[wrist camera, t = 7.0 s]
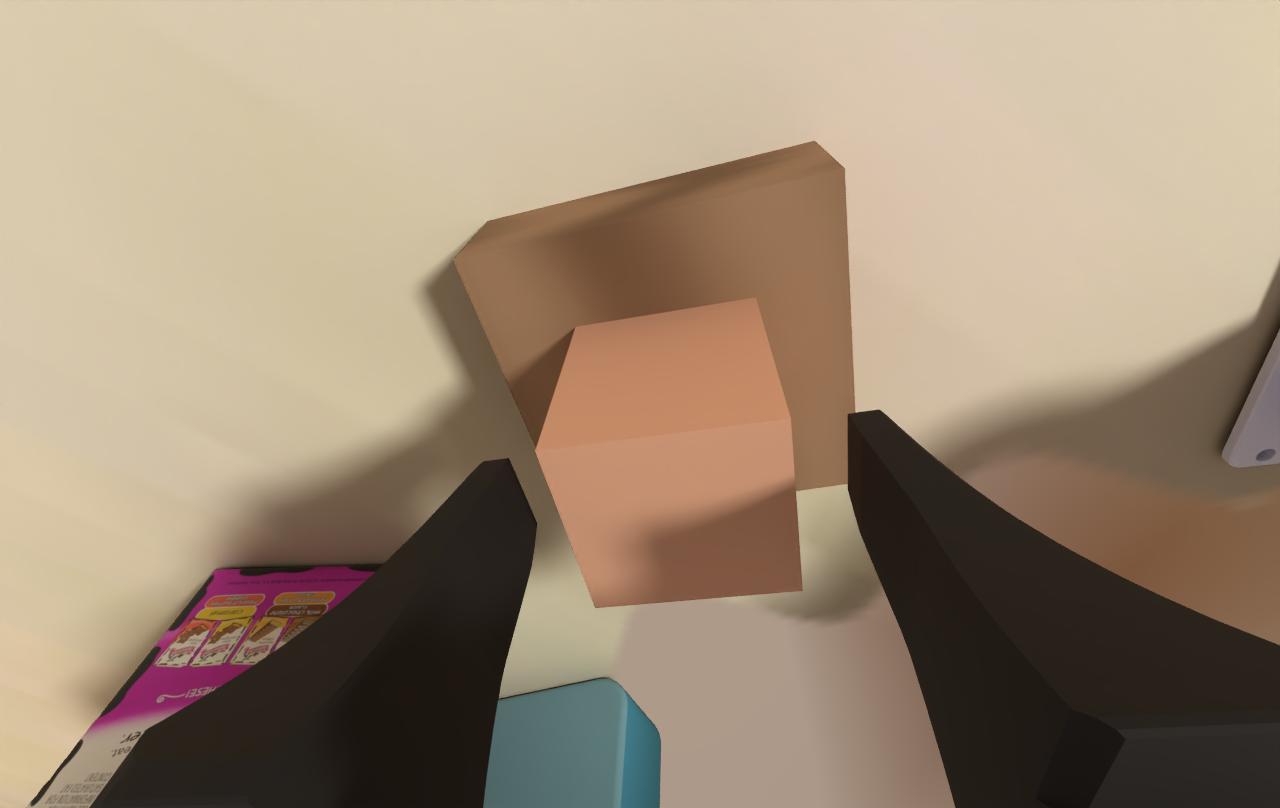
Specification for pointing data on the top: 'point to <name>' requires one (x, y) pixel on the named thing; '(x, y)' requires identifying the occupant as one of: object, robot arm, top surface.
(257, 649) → the candy bar box
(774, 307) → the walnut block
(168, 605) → the top surface
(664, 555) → the terracotta block
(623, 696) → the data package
